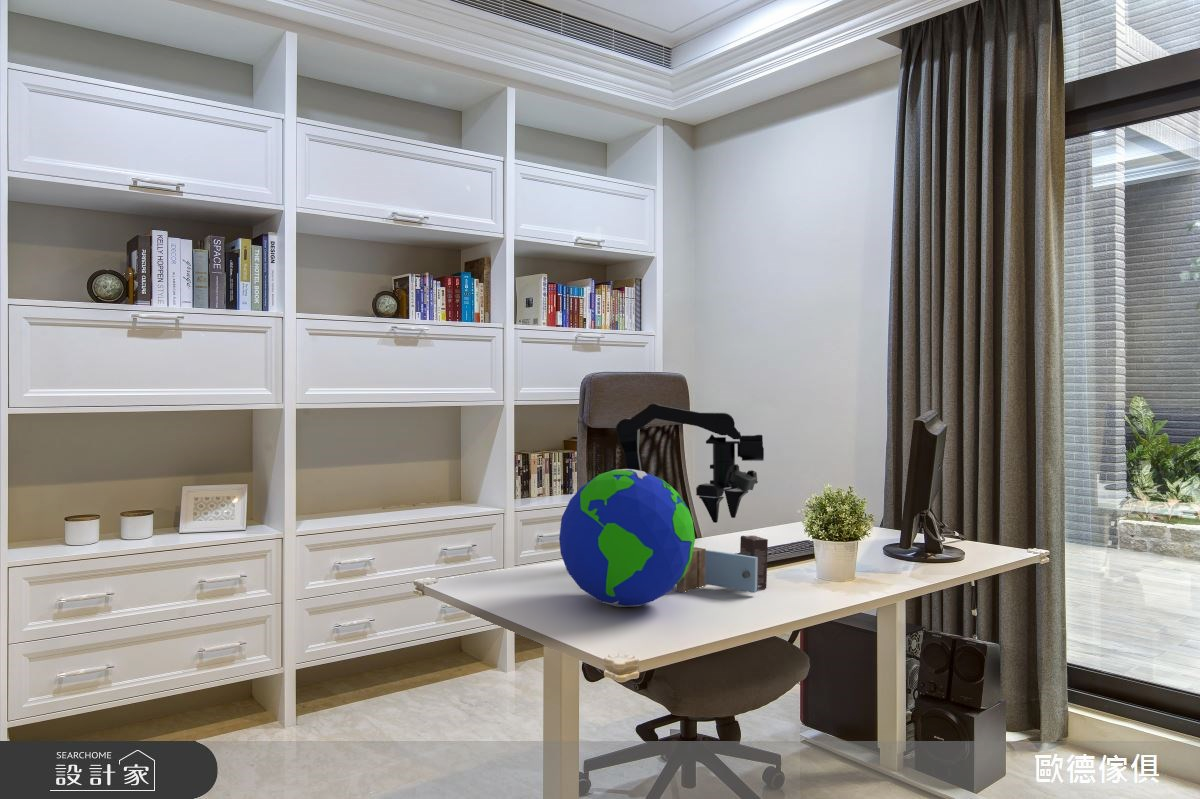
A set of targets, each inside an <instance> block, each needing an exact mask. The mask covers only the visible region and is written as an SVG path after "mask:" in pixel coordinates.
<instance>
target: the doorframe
mask: <svg viewBox="0 0 1200 799" xmlns="http://www.w3.org/2000/svg"><path fill="white" fill-rule="evenodd" d="M706 550H707V548H702V547H696V546H694V548H693V553H692V558H691V562H690V564H689V566H688V568H687V571H686V573H685V575H684V576H683V578H682V579H681V580H680V581H679V582H678V583H677V584H676V592H677V591H680V592H679V593H682V592H685V591H687V592H689V591H688V590H690V591H692V590H691V589H693V590H695V589H694V588H696V587H698V588H696V589H700V588H699V587H701V588H703V587H702V586H704V587H706V586H707V585H706V584H705V551H706ZM685 593H686V592H685Z"/></svg>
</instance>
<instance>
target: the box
mask: <svg viewBox="0 0 1200 799" xmlns="http://www.w3.org/2000/svg"><path fill="white" fill-rule="evenodd" d="M768 541H769V539H767V538H763V537H760V536H757V535H741V536H740V542H739V543H740V544H739V545H740V549H739V551H740V552H739V555H746V556H753V557H758V569H757V589H762V590H765V588H766V589H767V581H768V580H767V579H768V578H767V576H768V549H769V548H768V547H769V546H768V545H769V544H768Z"/></svg>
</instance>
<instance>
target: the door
mask: <svg viewBox="0 0 1200 799" xmlns="http://www.w3.org/2000/svg"><path fill="white" fill-rule="evenodd" d="M757 569H758V557H753V556H746V555H740V553H738V554H737V553H732V552H731V553H730V552H724V551H717V550H711V549H706V551H705V584H707V585H706V586H708V585H709V586H715V587H719V588H726V589H732V590H736V591H737V590H738V591H743V592H750V593H753V594H754V593H757V592H758V590H757Z"/></svg>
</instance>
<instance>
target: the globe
mask: <svg viewBox="0 0 1200 799" xmlns="http://www.w3.org/2000/svg"><path fill="white" fill-rule="evenodd" d="M694 528H695V527H694V522H693V518H692V515H691V512H690V510H689V508H688V506H687V504H686V502H685V501H684V500H683V498H682V497H681V495H680V493H678V491H677V490H675V488H673V486H672V485H670V484H669V483H667V481H665V480H664V479H662V478H660V477H658V476H656V475H655V476H654V475H653V474H650V473H647V472H645V471H643V470H642V471H639V470H633V469H627V468H622V469H613V470H610V471H607V472H603V473H600V474H598V475H596V476H595V477H594V478H591V480H590V481H588V482H587V483H586V484H584V485H583V486H581V487H580V488H579V489H578V490H577V491H576V492H575V494H574V495H573V496H572V497H571V498H570V500H569V502H568V504H567V506H566V508H565V510H564V512H563V514H562V516H561V520H560V529H559V538H558V539H559V549H560V556H561V557H562V561H563V563H564V565H565V568H566V571H567V573H568V575H570V577H571V578H572V579H573V580H574V582H575V584H576V585H577V586H578V587H579V589H581V590H583V592H584V593H587V594H588V595H589V596H591V597H593V598H595V599H596V600H597V601H598V602H601V603H603V604H606V605H610V606H613V607H618V608H627V607H629V608H631V607H641V606H643V605H645V604H648V603H651V602H654V601H655V600H657V599H659V598H661V597H662V596H664V595H666V594H668V593H670V591H672V590H673V589H674V587H675V586H677V583H678V582H679V581H680V580H681V579H682V578H683V576H684V575H685V573H686V571H687V568H688V566H689V564H690V562H691V558H692V553H693V548H694V547H695V542H696V535H695V529H694Z"/></svg>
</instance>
